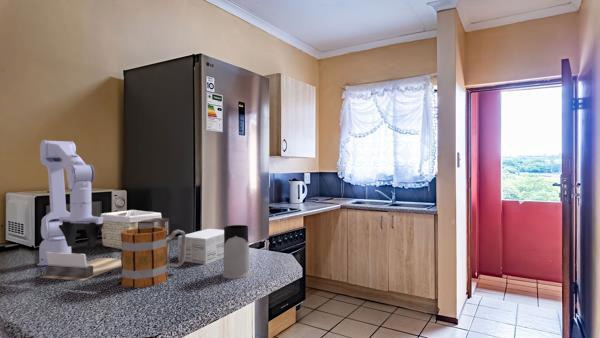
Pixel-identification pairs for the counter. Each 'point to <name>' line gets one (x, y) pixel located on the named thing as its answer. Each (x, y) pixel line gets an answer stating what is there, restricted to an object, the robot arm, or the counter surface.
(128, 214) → the storage basket
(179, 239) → the supplement box
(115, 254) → the counter surface
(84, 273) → the board
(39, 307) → the counter surface
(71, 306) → the counter surface
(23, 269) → the counter surface
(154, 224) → the coffee box
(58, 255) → the plate
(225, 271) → the glass holder
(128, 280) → the mug
